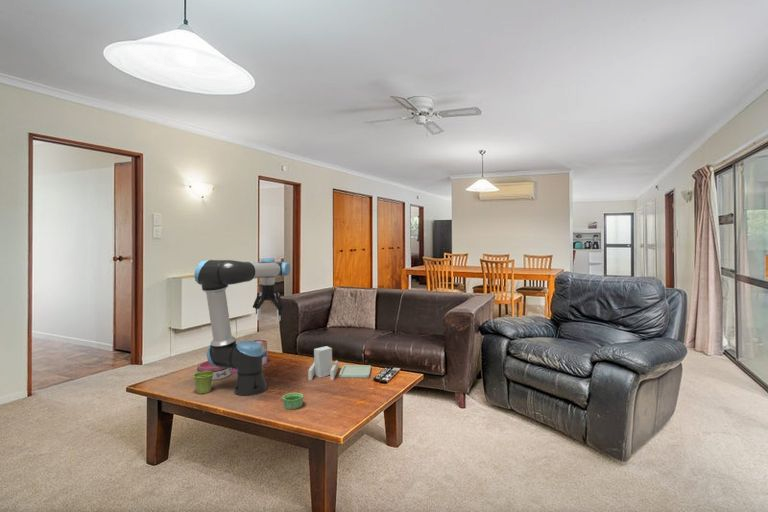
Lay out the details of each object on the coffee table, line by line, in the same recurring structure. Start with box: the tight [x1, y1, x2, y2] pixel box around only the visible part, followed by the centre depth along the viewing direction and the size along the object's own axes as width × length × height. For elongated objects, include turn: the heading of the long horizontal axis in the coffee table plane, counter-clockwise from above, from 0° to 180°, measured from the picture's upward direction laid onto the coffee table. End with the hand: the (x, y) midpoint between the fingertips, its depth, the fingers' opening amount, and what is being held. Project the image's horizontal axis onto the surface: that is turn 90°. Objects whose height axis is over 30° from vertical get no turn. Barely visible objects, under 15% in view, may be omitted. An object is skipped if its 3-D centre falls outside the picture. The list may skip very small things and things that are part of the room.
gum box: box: [231, 339, 268, 374], centre depth 242 cm, size 24×8×14 cm, turn 161°
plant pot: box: [192, 371, 214, 395], centre depth 204 cm, size 9×9×9 cm
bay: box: [307, 360, 340, 381], centre depth 229 cm, size 20×13×5 cm
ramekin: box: [282, 392, 304, 410], centre depth 185 cm, size 9×9×4 cm
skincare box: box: [313, 345, 333, 378], centre depth 227 cm, size 8×6×15 cm
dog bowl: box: [196, 360, 233, 382], centre depth 229 cm, size 18×19×7 cm
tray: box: [338, 364, 372, 379], centre depth 231 cm, size 18×16×2 cm
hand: (268, 320), depth 248 cm, fingers open, 13 cm apart
